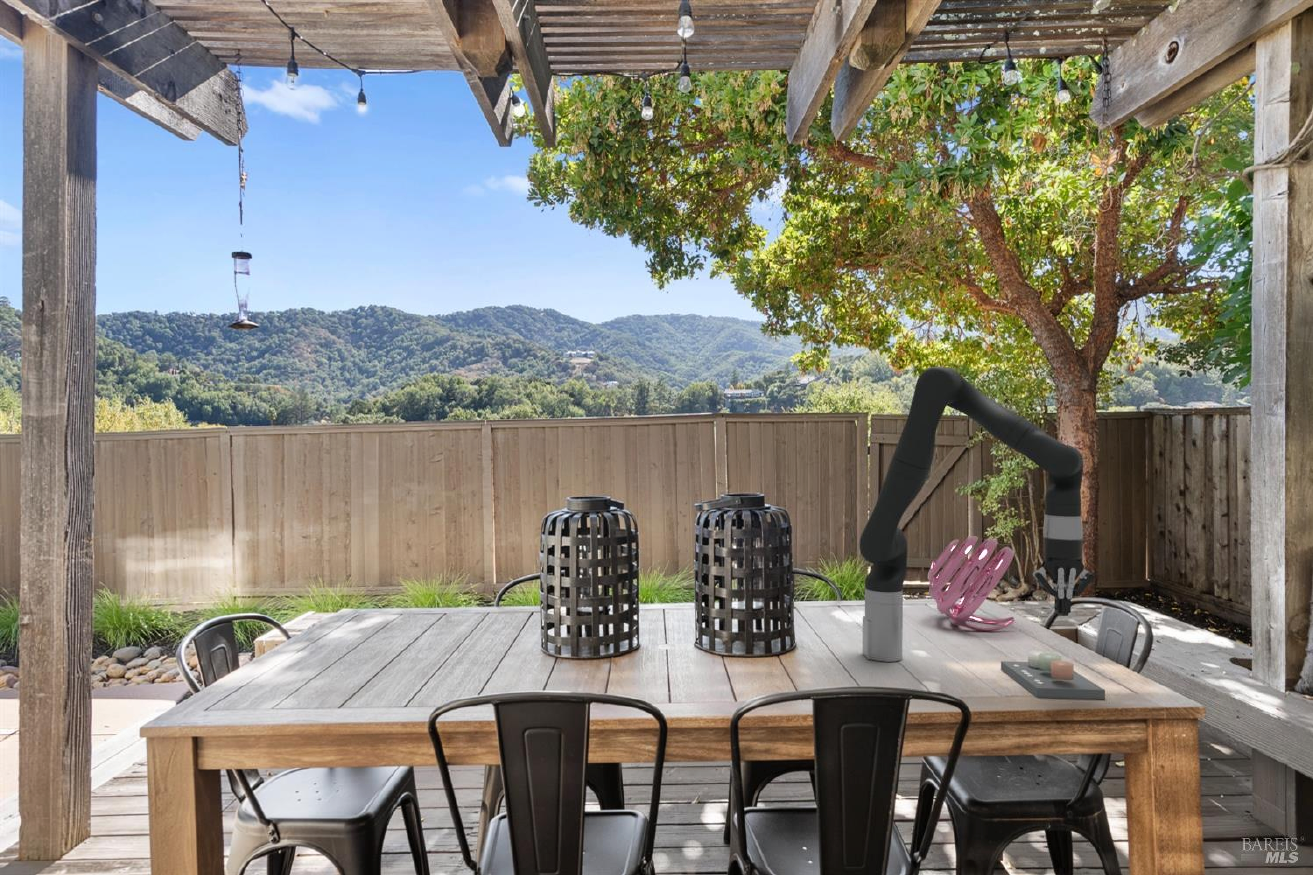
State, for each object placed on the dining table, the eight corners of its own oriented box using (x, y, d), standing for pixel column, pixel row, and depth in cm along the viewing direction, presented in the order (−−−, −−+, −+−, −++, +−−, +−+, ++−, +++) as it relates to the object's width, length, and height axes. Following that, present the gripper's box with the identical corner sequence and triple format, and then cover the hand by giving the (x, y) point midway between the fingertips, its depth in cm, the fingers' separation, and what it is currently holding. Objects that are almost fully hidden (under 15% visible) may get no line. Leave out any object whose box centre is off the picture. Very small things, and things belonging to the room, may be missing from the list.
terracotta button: (1056, 679, 163) (1056, 666, 163) (1047, 673, 167) (1047, 660, 167) (1077, 680, 163) (1077, 666, 163) (1067, 674, 167) (1067, 660, 167)
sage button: (1044, 671, 169) (1044, 658, 169) (1035, 665, 173) (1035, 652, 173) (1064, 672, 169) (1064, 658, 169) (1055, 666, 173) (1055, 653, 173)
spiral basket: (1054, 560, 225) (972, 507, 234) (1045, 599, 202) (955, 537, 211) (997, 624, 238) (922, 571, 247) (983, 666, 215) (901, 606, 224)
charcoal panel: (1037, 697, 161) (1037, 687, 161) (1000, 669, 181) (1001, 660, 181) (1104, 699, 160) (1105, 689, 160) (1061, 671, 180) (1061, 661, 180)
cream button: (1032, 668, 175) (1032, 655, 175) (1024, 662, 179) (1024, 650, 179) (1052, 668, 175) (1052, 655, 175) (1043, 663, 179) (1043, 650, 179)
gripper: (1039, 537, 162) (1039, 618, 162) (1103, 538, 161) (1102, 619, 161) (1024, 533, 169) (1024, 610, 169) (1085, 534, 169) (1085, 612, 168)
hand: (1062, 615), depth 165 cm, fingers closed
